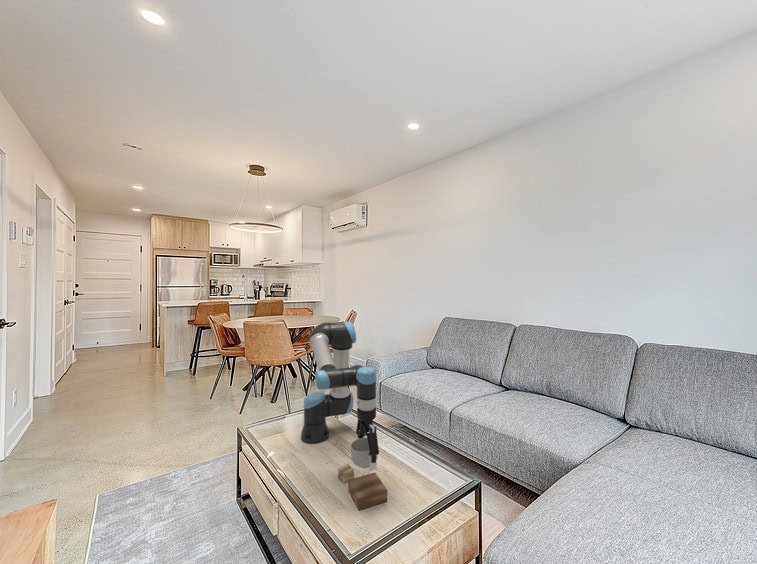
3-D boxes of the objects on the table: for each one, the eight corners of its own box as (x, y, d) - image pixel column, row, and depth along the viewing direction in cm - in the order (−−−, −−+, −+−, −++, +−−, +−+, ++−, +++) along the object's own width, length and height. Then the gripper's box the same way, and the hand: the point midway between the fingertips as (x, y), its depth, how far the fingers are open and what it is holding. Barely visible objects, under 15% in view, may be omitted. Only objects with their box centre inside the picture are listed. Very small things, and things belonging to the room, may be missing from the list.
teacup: (367, 475, 123) (367, 454, 123) (344, 466, 129) (344, 446, 129) (387, 457, 135) (386, 437, 134) (365, 449, 141) (365, 431, 140)
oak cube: (338, 479, 144) (338, 467, 144) (347, 474, 148) (347, 463, 147) (344, 484, 141) (344, 473, 140) (354, 480, 144) (353, 468, 143)
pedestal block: (348, 491, 135) (348, 479, 135) (375, 483, 140) (375, 472, 140) (358, 511, 124) (358, 498, 124) (387, 502, 129) (387, 489, 129)
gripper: (348, 398, 140) (348, 448, 141) (369, 421, 118) (369, 481, 119) (364, 395, 143) (365, 444, 144) (387, 417, 121) (388, 475, 122)
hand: (367, 461), depth 131 cm, fingers closed on teacup, 11 cm apart
